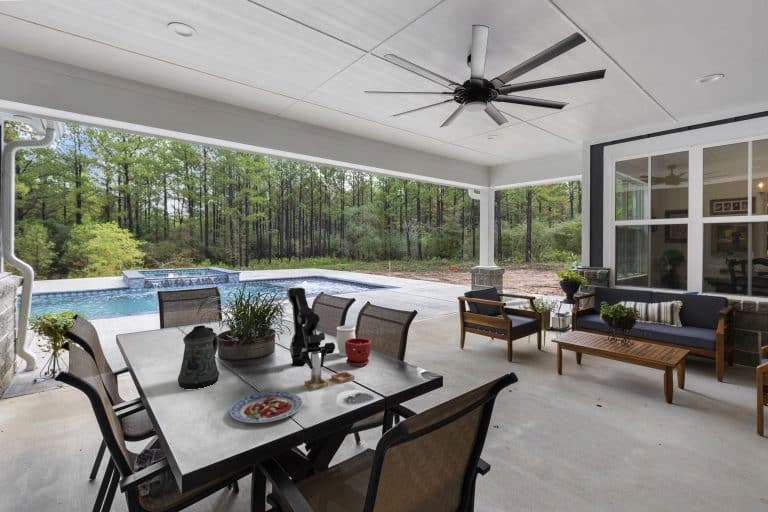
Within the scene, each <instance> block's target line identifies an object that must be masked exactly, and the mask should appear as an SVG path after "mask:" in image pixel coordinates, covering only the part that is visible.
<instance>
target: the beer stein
mask: <svg viewBox="0 0 768 512" xmlns="http://www.w3.org/2000/svg"><path fill="white" fill-rule="evenodd" d="M182 340H183V344H184V350H183V354H182V355H183V356H182V360H181V361H182V362H181V367H180V371H179V375H178V376H177V383H178V386H180V387H181V388H184V389H183V390H185V389H197V390H199V389H198V388H203V389H205V388H204V387H207V386H210V385H213V384H214V385H216V384H217V383H218V382H219V378H220V372H219V369H218V366H217V362H216V361H217V360H216V354H217V351H218V347H219V343H220V341H219V337H218V335H217V333H216V332H214V328H212V327H208V326H207V327H206V325H203V324H202V325H201V324H200V325H196V326H193V329H191V331H190V332H188V333H187V334H186V335H184V337H183V339H182ZM217 381H218V382H217ZM216 382H217V383H216ZM215 383H216V384H215ZM214 385H213V386H214ZM180 387H179V388H180ZM210 387H211V386H210ZM181 388H180V389H181ZM207 388H208V387H207Z"/></svg>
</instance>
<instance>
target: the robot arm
mask: <svg viewBox="0 0 768 512" xmlns="http://www.w3.org/2000/svg"><path fill="white" fill-rule="evenodd" d="M286 297H287V298H288V302H289V303H290V305H291V306H292V318H293V319H292V320H293V330H294V334H293V336H292V338H291V342H290V345H289V353H290V357H291V361H292V362H291V364H290V365H291V366H293V367H297V366H298V367H302V366H303V367H304V366H305V365H307V366H308V368H309V369H310V370H311V369H312V365H311V357H310V354H311V353H312V352H321V369H323V368H324V360H325V357H326V356H327V355H332V354H333V353H334V351H335V349H336V344H335V343H334V342H333V341H332V342H325V344H324V346H321V343H322V341H325V340H326V335H325V332H319V333H318V334H317V328H318V327H319V326H318V325H319V322H320V320H321V319H320V316H319V314H317V313H315V312H314V310H313V309H312V308H310V307H309V305H308V304H309V303H308V300H307V297H306V288H304V287H289V289H287V290H286Z"/></svg>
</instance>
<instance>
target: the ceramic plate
mask: <svg viewBox="0 0 768 512" xmlns="http://www.w3.org/2000/svg"><path fill="white" fill-rule="evenodd" d="M261 401H263V402H261ZM303 401H304V400H303V399H302V397H300V396H299V395H297V394H296V393H293V392H289V391H288V392H287V391H281V390H280V391H278V390H274V391H263V392H258V393H255V394H251V395H249V396H246V397H243V398H241V399H239V400H238V401H236V402H235V403H233V405H232V406H231V407H230V409H229V414H230V416H231V417H232V418H234V420H237V421H239V422H242V423H249V424H250V423H251V424H259V423H262V424H263V423H269V422H270V423H272V422H275V421H278V420H279V421H280V420H282V419H285V418H287V417H290V416H292V415H294V414H295V413H297V412H299V410H300V409H301V408H302V407H303V403H304V402H303ZM258 402H261V403H258ZM254 403H255V404H254Z"/></svg>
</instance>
